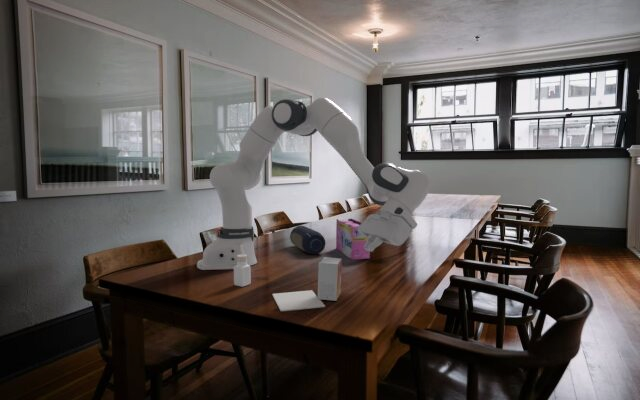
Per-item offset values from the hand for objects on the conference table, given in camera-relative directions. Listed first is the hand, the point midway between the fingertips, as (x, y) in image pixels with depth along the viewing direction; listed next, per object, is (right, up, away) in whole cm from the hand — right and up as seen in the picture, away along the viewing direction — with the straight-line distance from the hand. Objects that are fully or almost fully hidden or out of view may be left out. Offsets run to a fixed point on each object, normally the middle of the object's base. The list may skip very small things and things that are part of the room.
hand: (367, 249), depth 120 cm
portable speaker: (-20, -8, +59) cm, 63 cm away
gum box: (0, -8, +52) cm, 53 cm away
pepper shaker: (-39, -12, +7) cm, 41 cm away
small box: (-12, -13, -5) cm, 18 cm away
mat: (-21, -13, -8) cm, 26 cm away
